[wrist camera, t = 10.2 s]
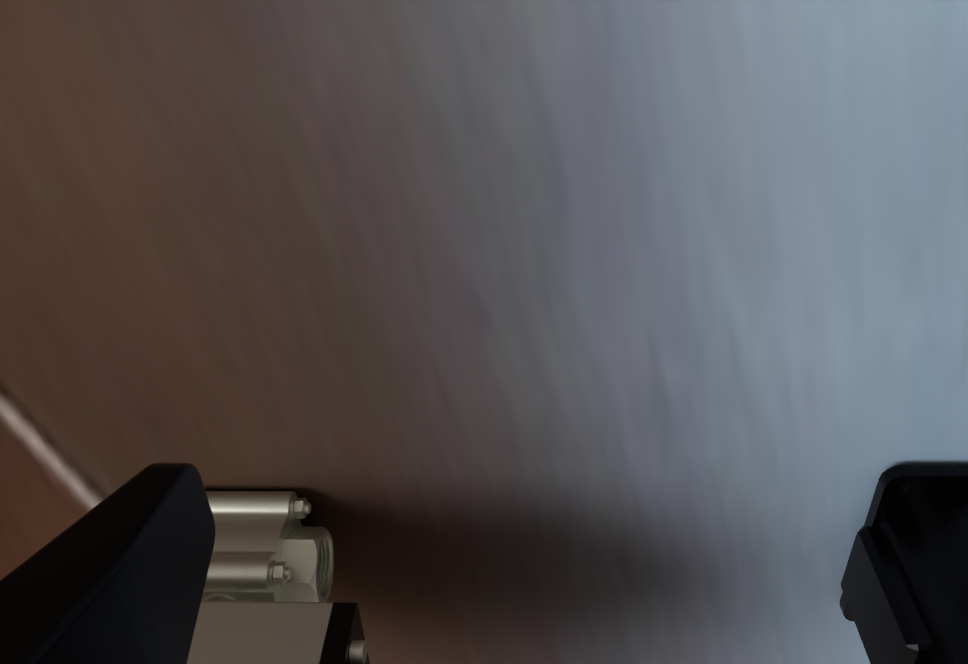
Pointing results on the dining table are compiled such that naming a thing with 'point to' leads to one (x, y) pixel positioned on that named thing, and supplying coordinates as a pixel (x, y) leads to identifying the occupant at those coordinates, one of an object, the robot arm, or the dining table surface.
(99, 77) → the dining table surface
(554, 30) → the dining table surface
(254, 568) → the pneumatic valve
